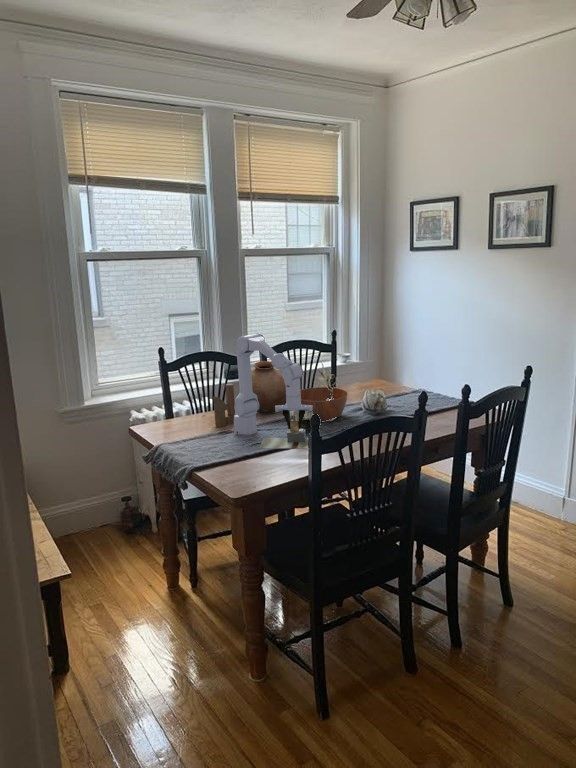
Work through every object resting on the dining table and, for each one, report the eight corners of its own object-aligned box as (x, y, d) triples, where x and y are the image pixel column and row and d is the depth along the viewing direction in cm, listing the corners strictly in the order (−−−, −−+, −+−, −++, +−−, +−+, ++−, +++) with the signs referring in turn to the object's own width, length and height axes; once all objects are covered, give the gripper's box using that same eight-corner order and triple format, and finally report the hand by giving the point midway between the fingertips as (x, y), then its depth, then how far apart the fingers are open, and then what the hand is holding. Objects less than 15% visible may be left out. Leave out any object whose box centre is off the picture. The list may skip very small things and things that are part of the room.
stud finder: (287, 442, 230) (287, 431, 229) (288, 438, 234) (288, 428, 233) (304, 442, 229) (304, 431, 228) (305, 438, 234) (305, 428, 233)
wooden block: (215, 426, 258) (212, 387, 254) (232, 420, 266) (229, 382, 262) (220, 427, 256) (218, 389, 252) (237, 421, 264) (235, 383, 260)
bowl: (351, 410, 274) (350, 387, 271) (344, 427, 250) (344, 401, 247) (300, 409, 279) (299, 386, 277) (289, 425, 256) (288, 400, 253)
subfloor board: (259, 451, 225) (259, 448, 225) (264, 440, 237) (263, 438, 236) (309, 451, 223) (309, 448, 222) (312, 440, 234) (311, 438, 234)
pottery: (267, 403, 292) (264, 355, 286) (300, 411, 276) (298, 360, 270) (233, 413, 276) (230, 363, 270) (266, 422, 260) (263, 369, 254)
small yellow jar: (289, 434, 223) (289, 417, 221) (290, 431, 226) (290, 414, 225) (298, 434, 222) (298, 417, 221) (299, 431, 226) (299, 414, 224)
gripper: (273, 398, 218) (275, 431, 221) (311, 397, 216) (312, 431, 219) (275, 393, 225) (277, 426, 228) (312, 392, 223) (313, 425, 226)
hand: (294, 428), depth 224 cm, fingers closed on small yellow jar, 4 cm apart
